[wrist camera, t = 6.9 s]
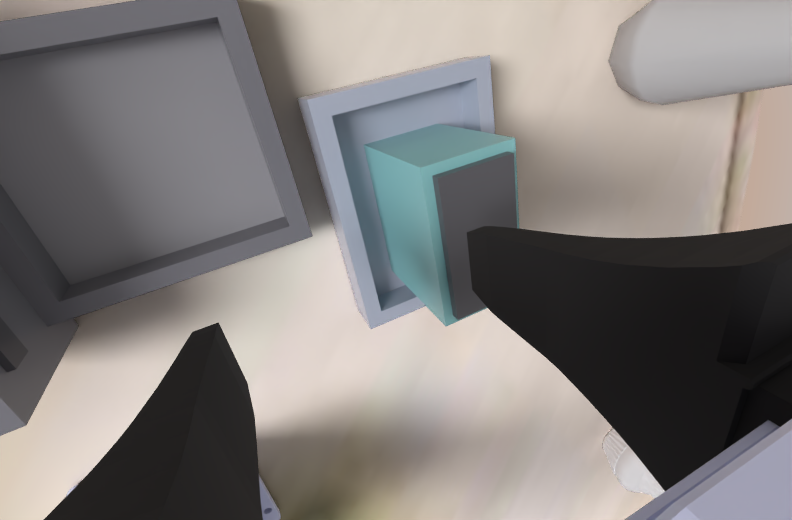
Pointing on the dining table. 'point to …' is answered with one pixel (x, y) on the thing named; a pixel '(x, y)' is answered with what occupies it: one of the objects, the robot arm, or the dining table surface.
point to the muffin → (629, 466)
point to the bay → (126, 169)
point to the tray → (348, 168)
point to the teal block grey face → (441, 207)
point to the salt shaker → (703, 49)
